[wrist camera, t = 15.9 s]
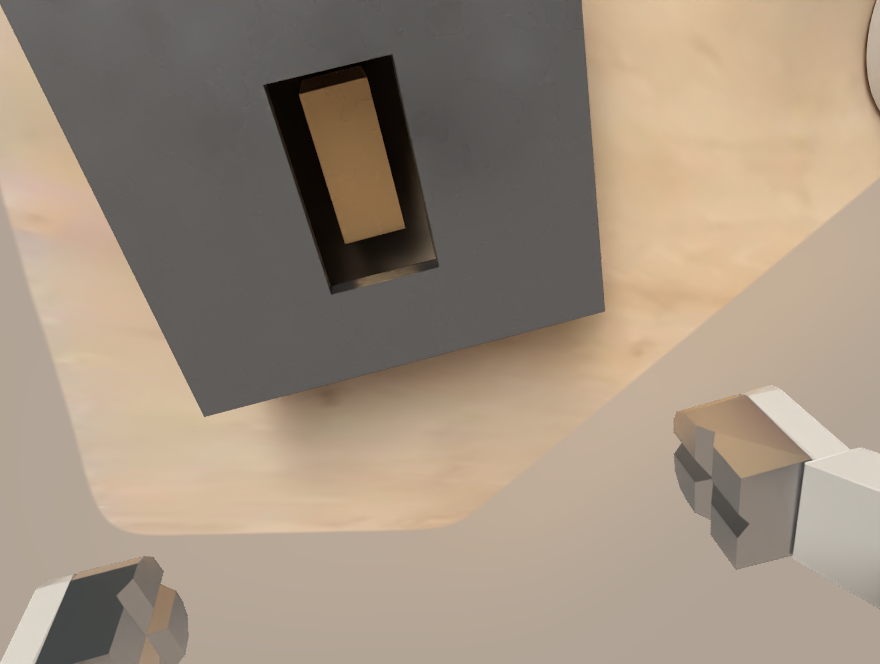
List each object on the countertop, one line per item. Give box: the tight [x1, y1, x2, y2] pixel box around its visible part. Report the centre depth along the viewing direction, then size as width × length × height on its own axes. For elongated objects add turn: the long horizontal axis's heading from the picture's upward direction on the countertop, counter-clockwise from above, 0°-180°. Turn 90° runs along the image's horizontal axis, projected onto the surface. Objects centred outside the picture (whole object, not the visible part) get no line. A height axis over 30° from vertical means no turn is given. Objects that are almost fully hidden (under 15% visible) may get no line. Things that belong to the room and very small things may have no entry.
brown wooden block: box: [299, 66, 405, 244], centre depth 31 cm, size 3×7×5 cm, turn 13°
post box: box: [0, 0, 605, 417], centre depth 29 cm, size 20×18×8 cm
